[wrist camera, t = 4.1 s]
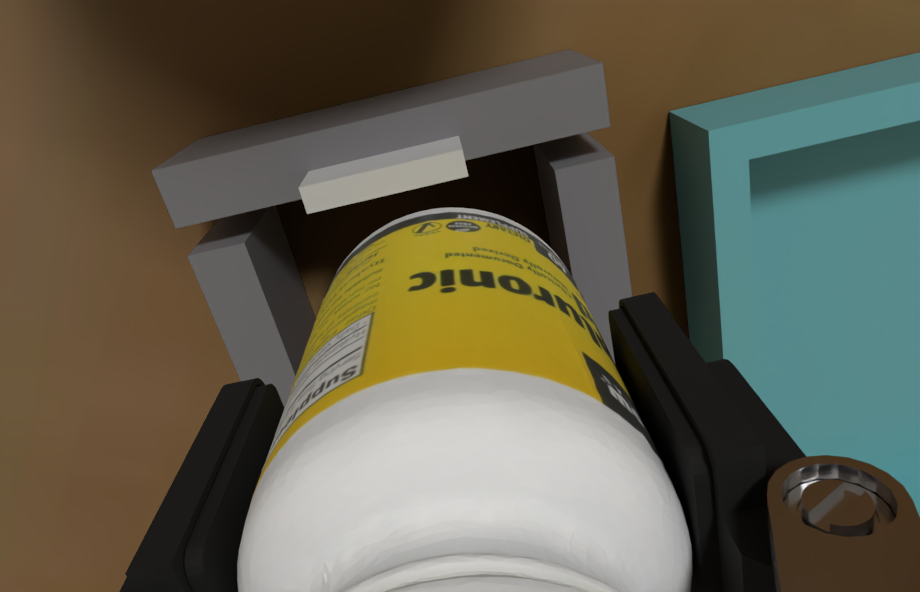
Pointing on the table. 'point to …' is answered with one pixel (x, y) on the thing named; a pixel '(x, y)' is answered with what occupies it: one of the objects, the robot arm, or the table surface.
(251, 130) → the clip holder
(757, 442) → the robot arm
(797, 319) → the tray
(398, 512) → the supplement bottle
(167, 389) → the table surface
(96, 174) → the table surface
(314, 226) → the table surface
